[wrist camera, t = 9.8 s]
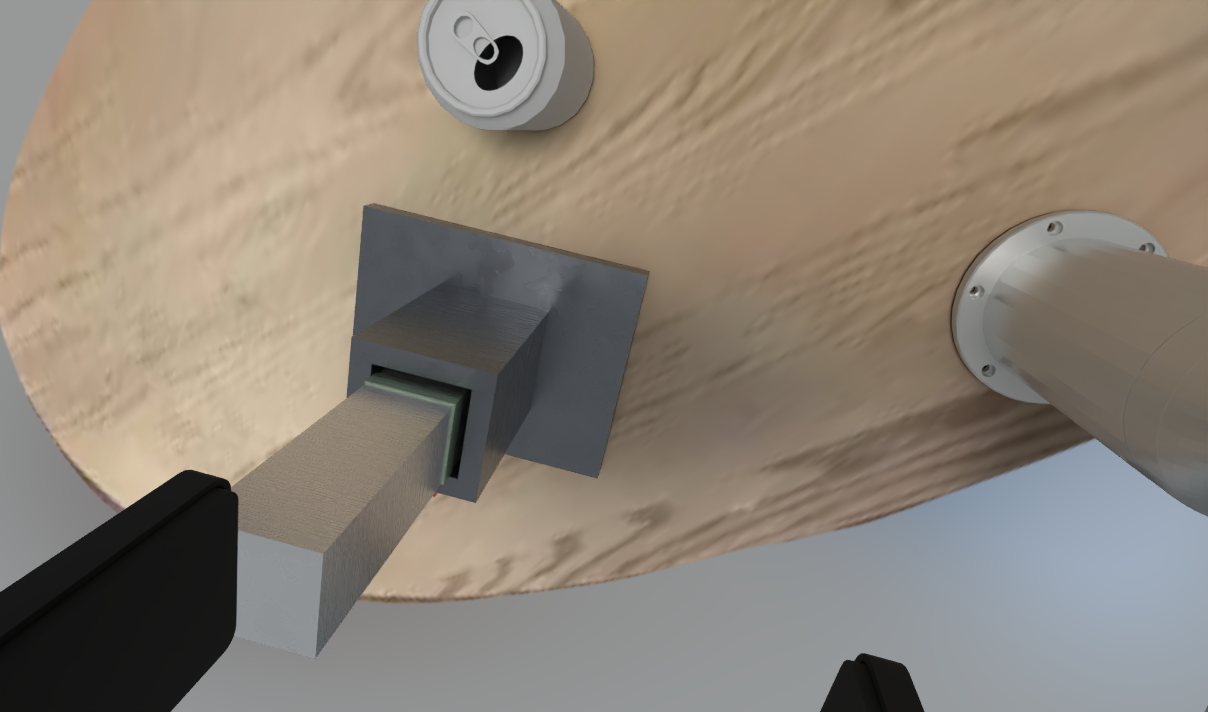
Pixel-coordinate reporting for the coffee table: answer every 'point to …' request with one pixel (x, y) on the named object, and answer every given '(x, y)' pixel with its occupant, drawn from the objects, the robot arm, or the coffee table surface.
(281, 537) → the column
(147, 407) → the coffee table surface
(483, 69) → the can
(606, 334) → the stand housing
